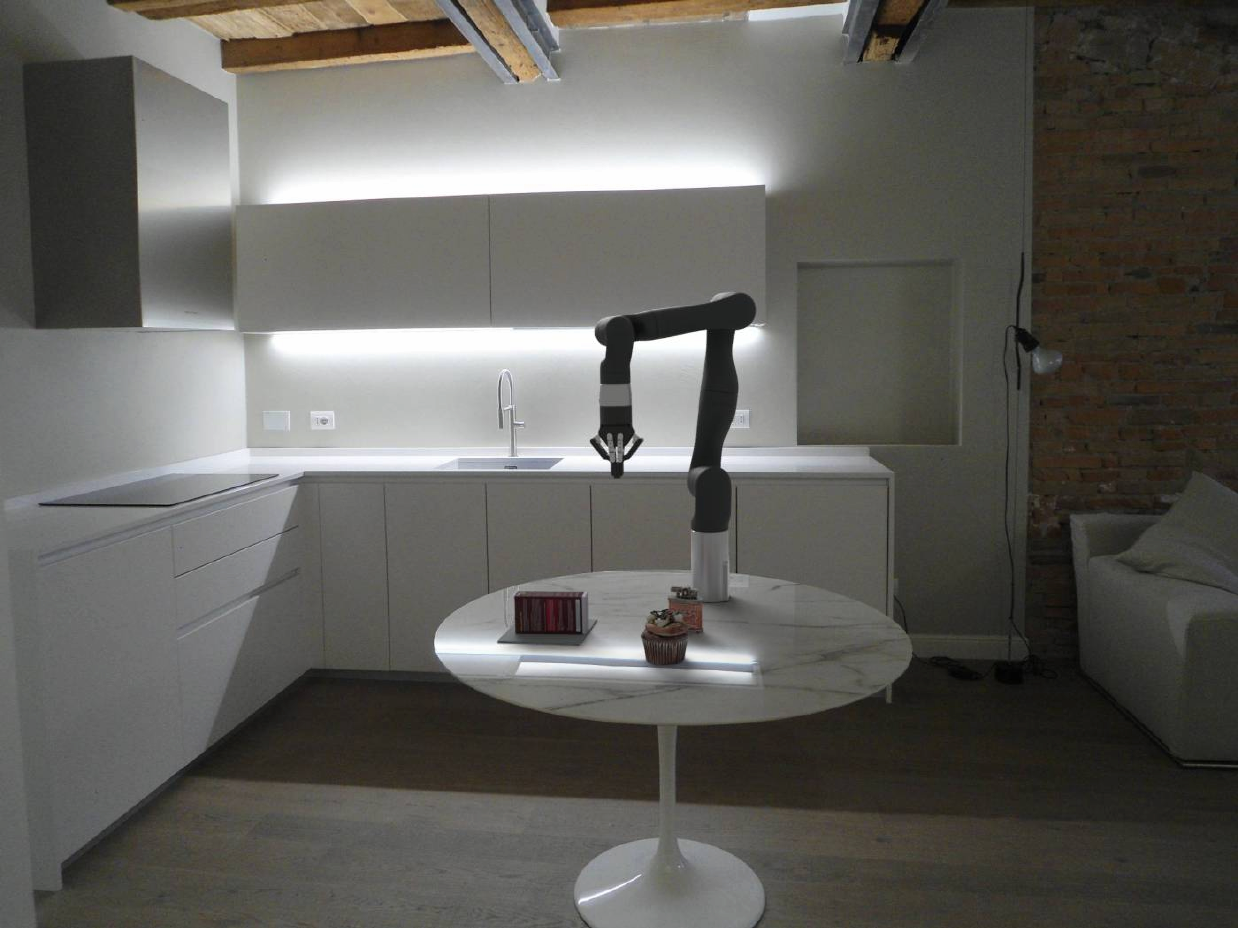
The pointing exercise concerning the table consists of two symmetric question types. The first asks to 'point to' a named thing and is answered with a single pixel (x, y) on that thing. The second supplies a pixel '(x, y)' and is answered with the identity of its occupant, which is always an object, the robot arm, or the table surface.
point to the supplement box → (551, 612)
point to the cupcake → (665, 638)
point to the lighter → (687, 607)
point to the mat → (544, 637)
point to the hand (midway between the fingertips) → (617, 478)
